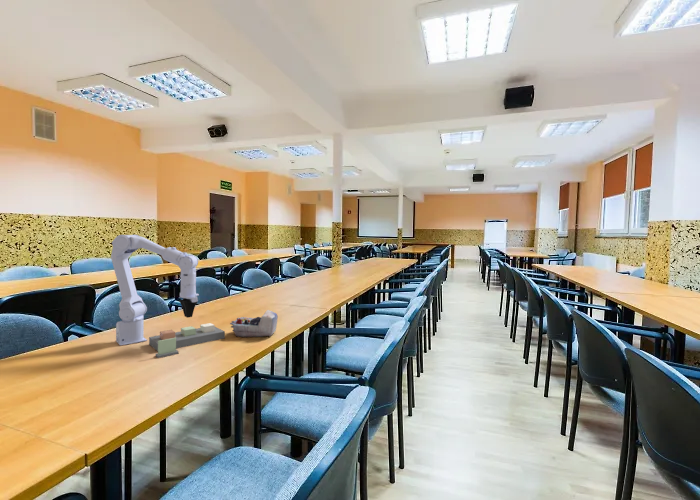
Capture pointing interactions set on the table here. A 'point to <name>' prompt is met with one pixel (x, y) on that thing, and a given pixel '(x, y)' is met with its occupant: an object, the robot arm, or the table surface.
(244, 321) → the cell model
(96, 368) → the table surface
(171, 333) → the terracotta block
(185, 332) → the sage block
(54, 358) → the table surface
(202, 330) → the cream block
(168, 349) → the card
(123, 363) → the table surface
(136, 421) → the table surface
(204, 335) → the button board
